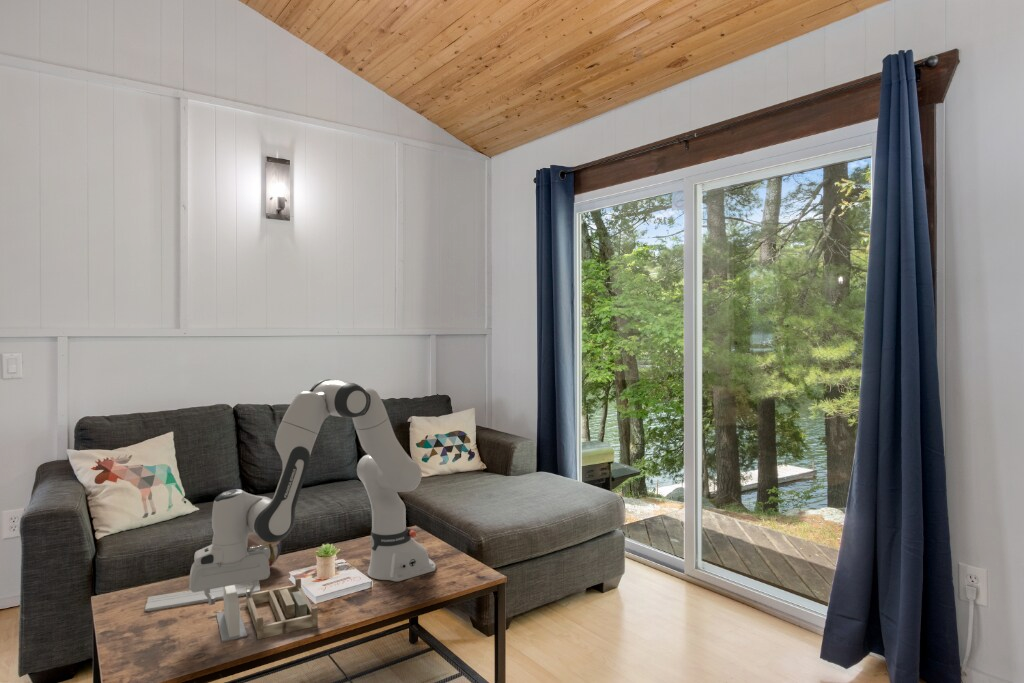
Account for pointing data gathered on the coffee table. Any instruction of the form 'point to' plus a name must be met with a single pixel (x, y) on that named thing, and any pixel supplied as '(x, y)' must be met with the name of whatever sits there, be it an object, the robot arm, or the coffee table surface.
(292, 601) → the offcuts
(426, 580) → the coffee table surface
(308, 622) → the rack
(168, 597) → the baseboard molding
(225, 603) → the cream rectangular board
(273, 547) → the ornament
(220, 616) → the mat
